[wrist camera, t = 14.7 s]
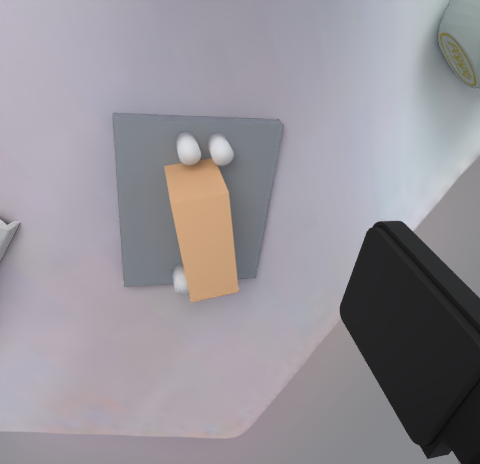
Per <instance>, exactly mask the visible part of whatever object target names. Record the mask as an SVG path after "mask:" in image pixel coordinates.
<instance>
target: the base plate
mask: <svg viewBox="0 0 480 464" xmlns="http://www.w3.org/2000/svg"><path fill="white" fill-rule="evenodd" d="M113 127H114V142H115V157H116V172H117V187H118V202H119V217H120V232H121V246H122V261H123V276H124V287H131V286H145V285H160V284H174V288H175V291H176V292H177V293H178V294H187V293H189V291H188V286H187V281H186V276H185V271H184V266H183V262H182V257H181V252H180V247H179V242H178V237H177V233H176V228H175V223H174V218H173V213H172V209H171V204H170V198H169V192H168V186H167V180H166V174H165V169H164V166H168V165H174V164H180V163H183V164H185V165H194V164H196V163H197V162H198V161H199V160H204V159H210V158H212V159H213V161H214V162H215V163H216V164H217V165H218V168H219V170H220V172H221V175H222V177H223V180H224V182H225V184H226V187H227V189H228V192H229V199H230V209H231V219H232V229H233V239H234V249H235V260H236V270H237V279H247V278H255V277H256V272H257V267H258V261H259V256H260V250H261V245H262V239H263V234H264V228H265V223H266V217H267V212H268V206H269V201H270V196H271V190H272V185H273V179H274V174H275V168H276V163H277V157H278V152H279V146H280V141H281V135H282V130H283V124H282V123H281V121H280V120H279V119H254V118H228V117H202V116H176V115H150V114H124V113H113Z"/></svg>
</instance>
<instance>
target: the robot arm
mask: <svg viewBox="0 0 480 464" xmlns="http://www.w3.org/2000/svg"><path fill="white" fill-rule="evenodd" d="M340 316H341V319H342V321H343V323H344V324H345V326H346V328H347V329H348V331H349V333H350V335H351V336H352V338H353V340H354V341H355V343H356V345H357V346H358V348H359V350H360V352H361V354H362V355H363V357H364V359H365V361H366V362H367V364H368V366H369V367H370V369H371V371H372V373H373V375H374V376H375V378H376V380H377V381H378V383H379V385H380V387H381V388H382V390H383V392H384V394H385V395H386V397H387V399H388V401H389V402H390V404H391V406H392V407H393V409H394V411H395V413H396V414H397V416H398V418H399V420H400V421H401V423H402V425H403V426H404V428H405V430H406V432H407V433H408V435H409V437H410V438H411V440H412V441H413V442H414V443H415V444H418V445H420V447H421V448H422V450H423V452H424V454H425V455H426V457H427V458H428V459H429V458H434V457H438V456H443V455H448V454H449V453H450V452H451V451H453V452H454V454H455V456H456V457H457V459H458V460H459V463H458V464H480V298H479V297H478V296H477V295H476V294H475V293H474V292H473V291H472V290H471V289H470V288H469V287H468V286H467V285H466V284H465V283H464V282H463V281H462V280H461V279H460V278H459V277H458V276H457V275H456V274H454V272H453V271H452V270H451V269H450V268H449V267H448V266H447V265H446V264H445V263H444V262H443V261H441V260H440V258H439V257H438V256H437V255H436V254H435V253H434V252H433V251H431V249H430V248H429V247H428V246H427V245H426V244H424V242H422V241H421V239H419V237H418V236H417V235H416V234H414V232H413V231H412V230H411V229H410V228H409V227H408V226H407V225H406V224H404V223H403V222H401V221H381V222H377V223H375V224H374V225H373V227H372V228H370V229H369V230H368V231H367V233H366V236H365V238H364V241H363V244H362V247H361V250H360V252H359V255H358V258H357V261H356V263H355V266H354V269H353V272H352V274H351V277H350V280H349V283H348V285H347V288H346V291H345V294H344V296H343V299H342V302H341V305H340Z"/></svg>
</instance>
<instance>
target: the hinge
mask: <svg viewBox="0 0 480 464" xmlns="http://www.w3.org/2000/svg"><path fill="white" fill-rule="evenodd" d="M19 224H20V222H19V221H17V220H14V221H13V222H11V223H10V224H8V225H7V224H6V223H4V222H3V221H2V220H1V219H0V261H1V259H2V257H3V255H4V253H5V251H6V249H7V247H8V245H9V243H10V241H11V239H12V238H13V236H14V234H15V232H16V230H17V228H18V226H19Z"/></svg>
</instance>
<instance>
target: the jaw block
mask: <svg viewBox="0 0 480 464" xmlns="http://www.w3.org/2000/svg"><path fill="white" fill-rule="evenodd" d="M164 169H165V174H166V180H167V186H168V192H169V198H170V204H171V209H172V213H173V218H174V223H175V228H176V233H177V237H178V242H179V247H180V252H181V257H182V262H183V266H184V271H185V276H186V281H187V286H188V291H189V295H190V300H191V302H195V301H199V300H204V299H209V298H213V297H218V296H222V295H227V294H232V293H236V292H239V290H238V280H237V270H236V260H235V249H234V239H233V229H232V219H231V209H230V199H229V192H228V189H227V187H226V184H225V182H224V180H223V177H222V175H221V172H220V170H219V168H218V165H217V164H216V163H215V162H214V161H213V159H212V158H210V159H204V160H199V161H198V162H197V163H196V164H194V165H185V164H183V163H180V164H174V165H168V166H164Z"/></svg>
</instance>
